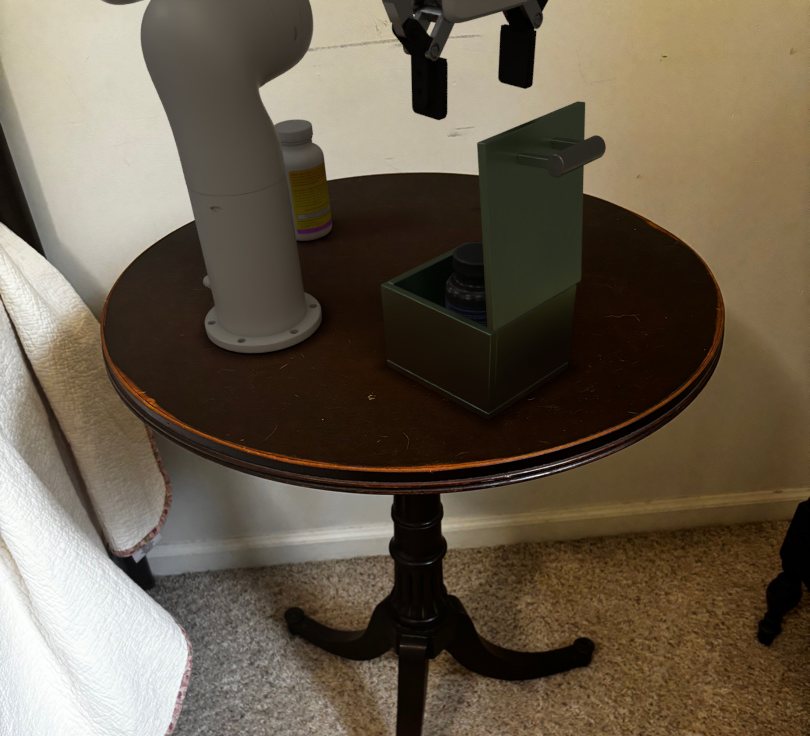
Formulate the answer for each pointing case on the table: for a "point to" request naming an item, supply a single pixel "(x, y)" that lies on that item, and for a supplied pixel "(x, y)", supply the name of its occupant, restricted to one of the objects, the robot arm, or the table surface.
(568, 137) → the lid
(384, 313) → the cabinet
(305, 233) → the supplement bottle
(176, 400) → the table surface
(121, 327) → the table surface
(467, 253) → the pill bottle
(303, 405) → the table surface
